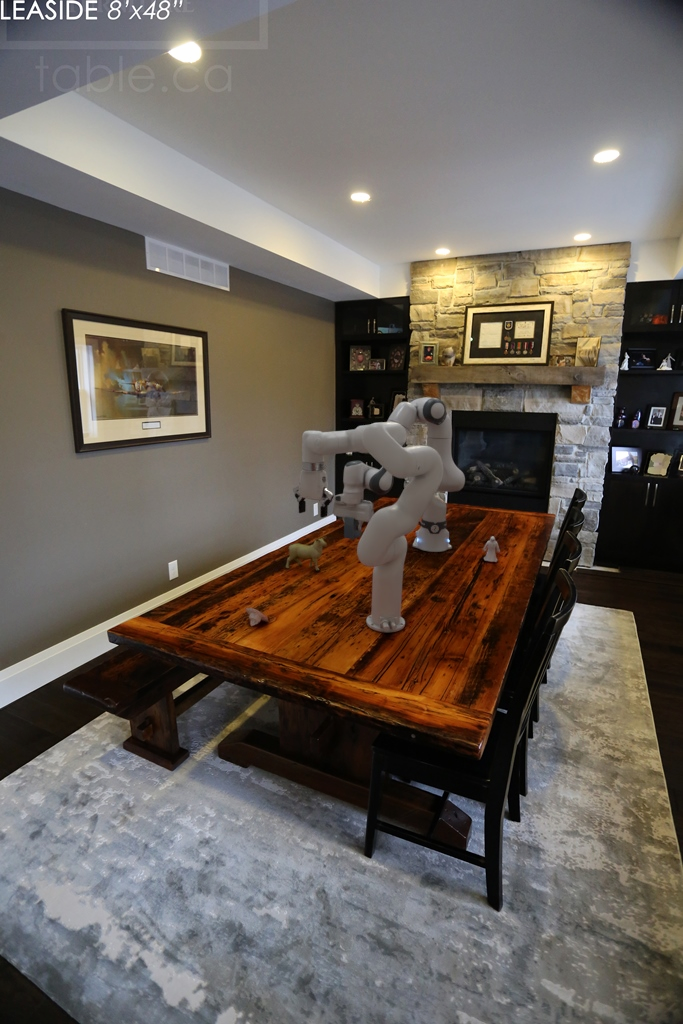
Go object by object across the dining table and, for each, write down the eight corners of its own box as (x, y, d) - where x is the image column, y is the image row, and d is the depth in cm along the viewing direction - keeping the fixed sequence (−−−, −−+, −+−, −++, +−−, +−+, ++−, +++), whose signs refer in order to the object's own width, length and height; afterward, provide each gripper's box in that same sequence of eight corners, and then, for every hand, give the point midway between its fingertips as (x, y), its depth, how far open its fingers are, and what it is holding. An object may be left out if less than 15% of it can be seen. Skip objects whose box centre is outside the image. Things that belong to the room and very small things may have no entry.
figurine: (481, 562, 222) (483, 536, 219) (482, 556, 230) (484, 531, 227) (499, 564, 220) (501, 538, 217) (499, 558, 228) (501, 533, 225)
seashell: (251, 634, 162) (235, 615, 161) (262, 623, 165) (246, 604, 164) (262, 630, 156) (245, 610, 155) (273, 618, 159) (257, 599, 158)
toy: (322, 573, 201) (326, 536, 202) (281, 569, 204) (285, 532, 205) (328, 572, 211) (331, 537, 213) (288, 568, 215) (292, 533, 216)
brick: (361, 536, 225) (361, 516, 223) (353, 539, 220) (353, 519, 218) (352, 534, 228) (352, 514, 225) (344, 537, 223) (344, 517, 220)
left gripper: (339, 468, 171) (338, 516, 176) (300, 463, 181) (300, 509, 185) (326, 470, 165) (326, 520, 170) (286, 465, 175) (287, 512, 179)
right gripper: (377, 500, 216) (376, 530, 220) (338, 493, 227) (338, 522, 231) (369, 502, 211) (368, 534, 215) (330, 496, 222) (330, 526, 226)
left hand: (312, 514), depth 177 cm, fingers open, 9 cm apart
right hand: (352, 528), depth 223 cm, fingers closed on brick, 5 cm apart
